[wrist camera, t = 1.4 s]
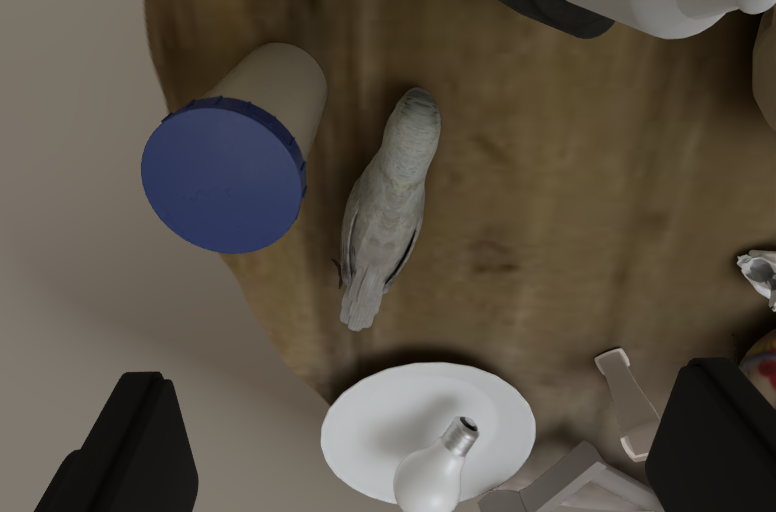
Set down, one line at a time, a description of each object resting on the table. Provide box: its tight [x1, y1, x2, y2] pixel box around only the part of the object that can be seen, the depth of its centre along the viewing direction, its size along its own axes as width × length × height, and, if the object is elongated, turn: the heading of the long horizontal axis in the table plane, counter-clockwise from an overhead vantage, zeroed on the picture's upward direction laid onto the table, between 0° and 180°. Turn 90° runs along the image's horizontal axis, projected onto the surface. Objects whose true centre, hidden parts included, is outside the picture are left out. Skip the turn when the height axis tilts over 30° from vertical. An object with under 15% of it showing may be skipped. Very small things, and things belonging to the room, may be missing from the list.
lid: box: [141, 95, 307, 254], centre depth 24 cm, size 7×7×2 cm
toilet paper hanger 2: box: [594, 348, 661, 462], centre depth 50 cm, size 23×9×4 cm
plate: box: [320, 362, 536, 504], centre depth 53 cm, size 21×21×2 cm
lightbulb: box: [393, 416, 480, 512], centre depth 50 cm, size 6×6×11 cm
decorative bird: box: [332, 87, 441, 331], centre depth 37 cm, size 5×16×7 cm, turn 163°
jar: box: [201, 42, 328, 168], centre depth 30 cm, size 6×6×15 cm
